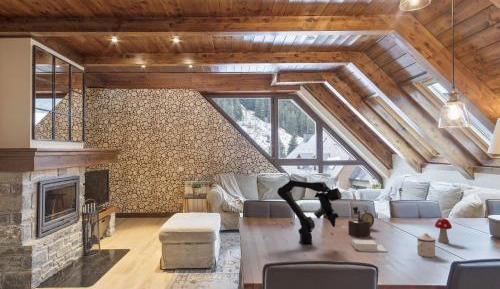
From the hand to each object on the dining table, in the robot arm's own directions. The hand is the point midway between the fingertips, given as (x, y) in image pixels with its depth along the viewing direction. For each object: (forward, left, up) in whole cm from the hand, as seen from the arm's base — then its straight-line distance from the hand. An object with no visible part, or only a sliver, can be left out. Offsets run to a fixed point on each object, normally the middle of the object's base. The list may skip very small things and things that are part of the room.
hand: (333, 226), depth 217 cm
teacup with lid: (+39, -30, -11) cm, 50 cm away
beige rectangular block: (+9, -8, -9) cm, 15 cm away
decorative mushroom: (+71, -8, -11) cm, 72 cm away
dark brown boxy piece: (+29, +24, -11) cm, 40 cm away
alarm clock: (+46, +39, -11) cm, 61 cm away
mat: (+17, -11, -11) cm, 23 cm away
